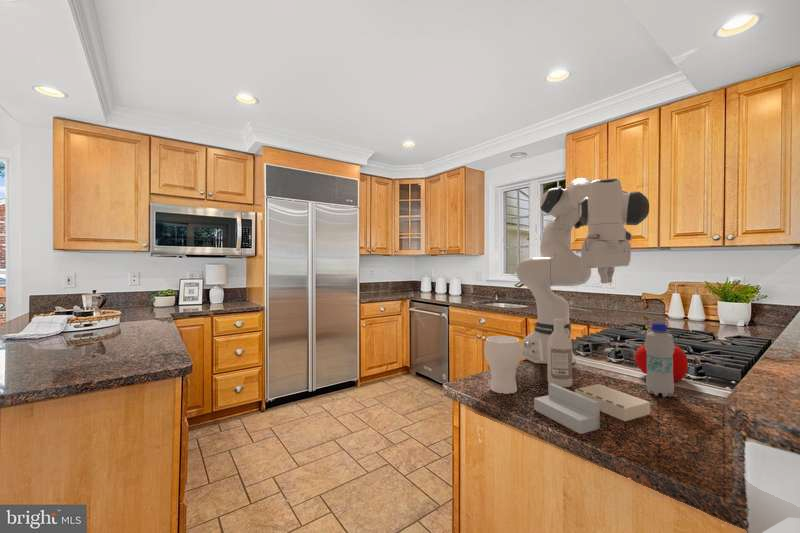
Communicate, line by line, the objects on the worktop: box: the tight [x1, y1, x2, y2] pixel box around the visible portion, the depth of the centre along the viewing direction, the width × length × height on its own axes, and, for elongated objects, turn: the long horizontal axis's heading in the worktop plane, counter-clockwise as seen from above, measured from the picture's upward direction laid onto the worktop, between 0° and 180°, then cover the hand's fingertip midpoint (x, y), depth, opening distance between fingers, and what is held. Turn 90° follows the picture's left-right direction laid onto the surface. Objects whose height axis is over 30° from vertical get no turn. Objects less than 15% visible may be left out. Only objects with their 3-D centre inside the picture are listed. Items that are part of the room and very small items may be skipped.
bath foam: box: [546, 318, 573, 388], centre depth 109 cm, size 7×7×20 cm
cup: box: [484, 335, 522, 395], centre depth 106 cm, size 11×11×15 cm
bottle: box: [644, 322, 675, 398], centre depth 99 cm, size 7×7×20 cm
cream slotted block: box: [574, 383, 651, 422], centre depth 91 cm, size 14×9×3 cm, turn 22°
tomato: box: [634, 343, 689, 382], centre depth 111 cm, size 12×14×11 cm
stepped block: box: [533, 383, 601, 435], centre depth 86 cm, size 14×6×6 cm, turn 22°
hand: (606, 283), depth 102 cm, fingers closed
